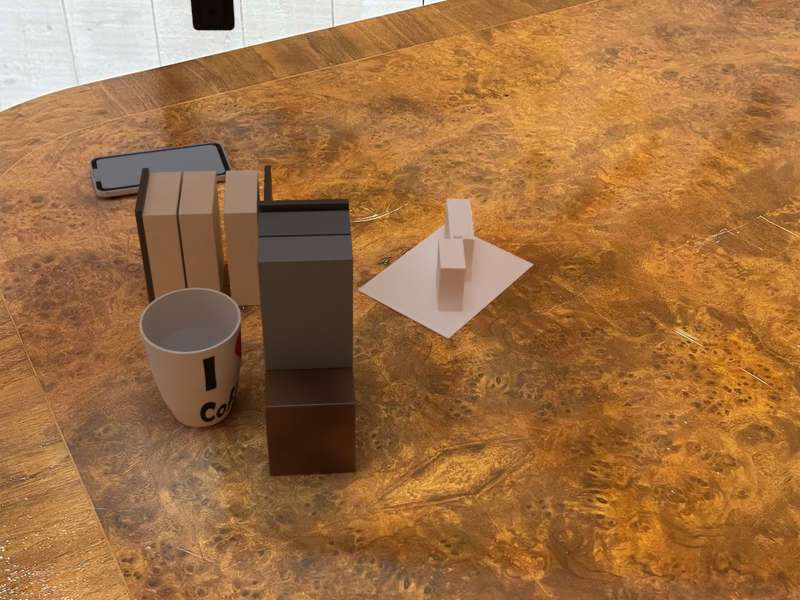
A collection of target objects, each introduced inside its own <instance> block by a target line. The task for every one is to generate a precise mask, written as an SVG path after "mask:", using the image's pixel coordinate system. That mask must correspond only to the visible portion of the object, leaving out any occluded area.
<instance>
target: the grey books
mask: <svg viewBox="0 0 800 600" xmlns="http://www.w3.org/2000/svg"><path fill="white" fill-rule="evenodd" d="M258 206H259V221H258V254H257V265H258V279H259V293H260V305H259V307H260V317H261V318H260V320H261V329H262V330H261V333H262V345H263V348H262V349H263V357H264V358H263V359H264V361H263V362H264V371H265V370H289V369H317V368H344V367H353V368H354V250H353V240H352V239H353V238H352V225H351V213H350V199H349V198H315V199H313V198H312V199H309V198H307V199H277V200H276V199H273V200H266V201H264V200H260V201H259V203H258Z"/></svg>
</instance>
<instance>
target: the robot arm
mask: <svg viewBox="0 0 800 600" xmlns="http://www.w3.org/2000/svg"><path fill="white" fill-rule="evenodd" d="M234 1H235V0H190V10H191V20H192V28H193V29H194V30H195V31H199V32H200V31H201V32H202V31H213V32H214V31H216V32H217V31H222V32H223V31H226V32H227V31H233V30H234V29H235V26H236V17H235V2H234Z"/></svg>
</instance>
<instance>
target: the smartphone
mask: <svg viewBox="0 0 800 600" xmlns="http://www.w3.org/2000/svg"><path fill="white" fill-rule="evenodd" d="M89 168H90V172H91V178H92V183H93V186H94V191H95V194H96V195H97V196H98V197H100V198H109V197H118V196H123V195H125V196H126V195H131V194H138V189H139V184H140V179H141V173H142V168H149V173H150V172H182V179H183V175H184V172H186V171H216V178H217V183H218V182H225V181H226V171H233V168H232V166H231V163H230V161H229V158H228V156H227V153H226V151H225V148H224V146H223V144H222V143H221V142H217V141H210V142H202V143H201V142H200V143H195V144H187V145H178V146H171V147H164V148H163V147H162V148H156V149H149V150H139V151H133V152H125V153H124V152H123V153H117V154H110V155H101V156H96V157H93V158H91V159H90V161H89Z"/></svg>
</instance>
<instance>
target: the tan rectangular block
mask: <svg viewBox="0 0 800 600" xmlns="http://www.w3.org/2000/svg"><path fill="white" fill-rule="evenodd" d="M259 180H260V179H259V170H258V169H241V170H240V169H239V170H232V171H226V180H225V181H224V195H223V196H224V198H223V210H222V212H223V213H222V215H223V216H222V217H223V225H224V226H223V227H224V236H225V245H226V246H225V247H226V256H227V257H226V258H227V265H228V266H227V267H228V277H229V288H230V298H231V299H233V300H234V301H235V302H236V304H237V305H238V307H246V306H247V307H248V306H260V293H259V279H258V265H257V254H258V221H259V206H258V203H259V201H261V195H260V181H259Z"/></svg>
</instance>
